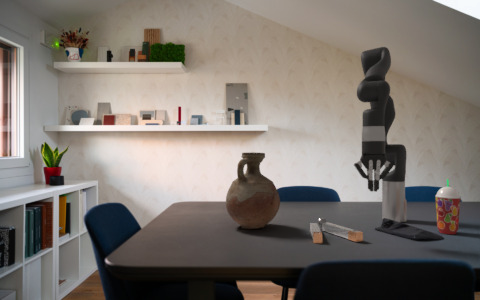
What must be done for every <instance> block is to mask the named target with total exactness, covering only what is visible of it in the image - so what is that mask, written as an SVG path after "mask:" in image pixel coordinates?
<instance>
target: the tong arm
mask: <svg viewBox="0 0 480 300" xmlns="http://www.w3.org/2000/svg"><path fill="white" fill-rule="evenodd" d="M321 232H326V233H328V234H332V235H335V236H338V237H340V238H344V239H347V240H349V241H353V242H356V243H358V242H364V241H363V240H364V232H363V231H362V230H361V231H360V230H357V229H353V228H349V227H346V226H343V225H339V224H335V223H332V222H327V221H326V222H324V223H322V231H321Z"/></svg>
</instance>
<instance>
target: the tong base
mask: <svg viewBox="0 0 480 300" xmlns="http://www.w3.org/2000/svg"><path fill="white" fill-rule="evenodd" d="M324 222H327V218H326V217H317V222H310V223H309V226H310V227H309V232H310V235H311V237H312V242H313V244H323V231H322V223H324Z"/></svg>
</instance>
